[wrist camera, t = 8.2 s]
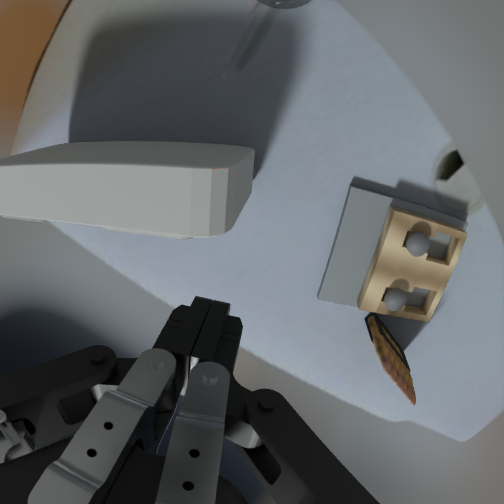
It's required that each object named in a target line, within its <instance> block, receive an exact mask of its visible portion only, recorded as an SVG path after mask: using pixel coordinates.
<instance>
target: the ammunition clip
mask: <svg viewBox="0 0 504 504" xmlns="http://www.w3.org/2000/svg"><path fill="white" fill-rule="evenodd" d="M365 322H366V325H367V328H368V332H369V335H370V338H371V341H372V342H373V343H374V345H375V349H376V352H377V355H378V356H379V358H380V361H381V364H382V366H383V369H384V370H385V372H386V373H387V374H388V375H389V376H390V377H391V379H392V380H393V381H394V382H395V383H396V385H397V386H398V387H399V388H400V389H401V391H402V392H403V393H404V394H405V395H406V397H407V398H408V399H409V400H410V401H411V403H412V404H413V405H415V403H416V396H415V391H414V387H413V381H412V378H411V375H410V368H409V365H408V362H407V360H406V357H405V354H404V351H403V350H402V348H401V347H400V346H399V344H398V343H397V342H396V340H395V339H394V337H393V336H392V335H391V333H390V332H389V331H388V329H387V328H386V327H385V325H384V324H383V323H382V321H381V320H380V319H379V317H378V316H377V315H376V313H372V314H371V315H369V316H368V317H366V318H365Z"/></svg>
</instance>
